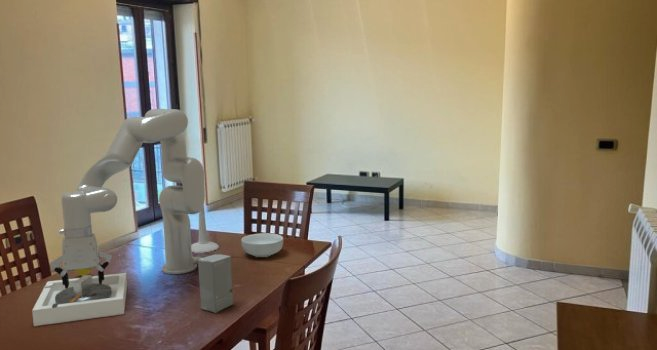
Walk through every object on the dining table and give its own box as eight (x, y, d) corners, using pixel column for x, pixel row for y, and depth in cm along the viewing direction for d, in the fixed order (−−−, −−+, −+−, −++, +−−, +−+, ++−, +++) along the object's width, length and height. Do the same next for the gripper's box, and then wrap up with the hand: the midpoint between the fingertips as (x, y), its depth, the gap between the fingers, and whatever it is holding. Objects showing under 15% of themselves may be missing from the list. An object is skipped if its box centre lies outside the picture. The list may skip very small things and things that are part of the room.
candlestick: (194, 243, 228) (191, 176, 223) (223, 244, 226) (220, 176, 221) (182, 252, 215) (178, 181, 210) (212, 253, 213) (209, 181, 209)
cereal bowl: (291, 252, 214) (291, 236, 213) (266, 264, 200) (265, 246, 199) (259, 246, 223) (259, 230, 222) (233, 257, 209) (232, 240, 208)
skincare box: (215, 314, 156) (213, 263, 153) (198, 308, 159) (196, 259, 157) (234, 304, 163) (233, 255, 160) (218, 299, 166) (215, 251, 164)
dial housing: (127, 286, 179) (125, 271, 178) (123, 314, 156) (122, 297, 155) (48, 295, 171) (47, 280, 170) (33, 326, 148) (31, 309, 148)
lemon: (86, 280, 185) (84, 258, 183) (72, 279, 186) (70, 257, 184) (95, 274, 190) (94, 253, 189) (82, 273, 191) (80, 252, 190)
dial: (71, 287, 171) (70, 270, 170) (120, 287, 171) (118, 270, 170) (44, 307, 155) (42, 288, 154) (97, 307, 155) (96, 288, 154)
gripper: (44, 238, 154) (51, 293, 157) (108, 232, 159) (113, 285, 162) (49, 231, 161) (55, 284, 164) (109, 225, 166) (114, 277, 169)
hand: (84, 284), depth 163 cm, fingers open, 9 cm apart
